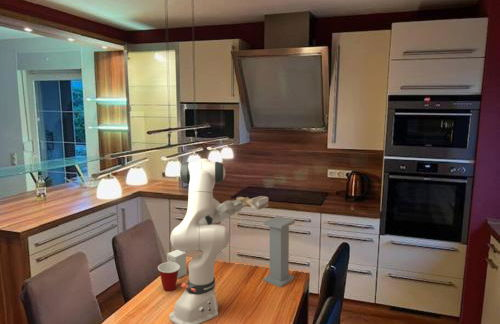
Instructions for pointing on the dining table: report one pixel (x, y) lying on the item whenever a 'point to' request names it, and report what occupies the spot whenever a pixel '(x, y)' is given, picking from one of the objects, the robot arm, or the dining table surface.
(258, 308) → the dining table surface
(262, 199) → the mallet
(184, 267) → the supplement box
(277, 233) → the pedestal shelf
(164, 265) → the plastic cup
